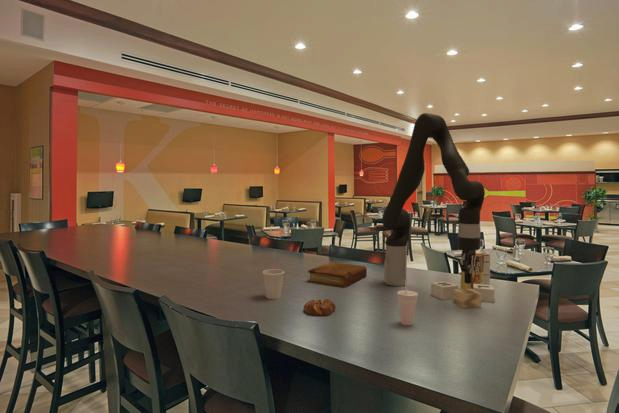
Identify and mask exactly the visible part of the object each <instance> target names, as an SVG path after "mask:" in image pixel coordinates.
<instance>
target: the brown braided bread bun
mask: <svg viewBox="0 0 619 413" xmlns="http://www.w3.org/2000/svg"><path fill="white" fill-rule="evenodd" d="M303 311H304V312H305V313H306V314H308V315H310V316H316V317H319V316H326V317H327V316H330V315H331V314H332V313H333V312H334V311H336V304H335V303H334V302H333V301H332V300H331V299H328V298H326V299H324V300H323V299H315V300H314V299H312V300H309V301H308V302H306V303H305V304H304V305H303Z"/></svg>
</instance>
